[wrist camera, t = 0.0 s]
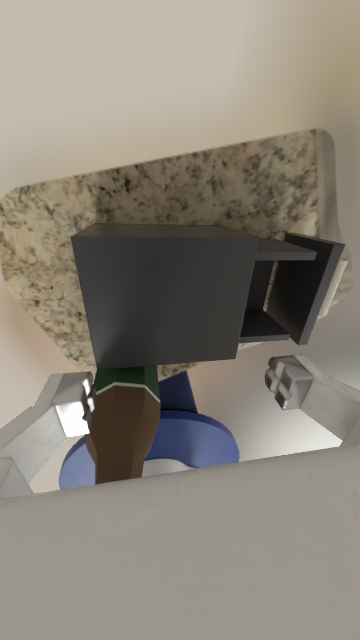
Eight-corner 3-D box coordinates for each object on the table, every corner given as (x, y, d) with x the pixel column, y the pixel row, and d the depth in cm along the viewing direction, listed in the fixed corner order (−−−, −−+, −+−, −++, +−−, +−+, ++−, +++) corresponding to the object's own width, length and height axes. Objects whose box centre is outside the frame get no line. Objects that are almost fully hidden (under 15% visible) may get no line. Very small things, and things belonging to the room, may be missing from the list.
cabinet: (221, 225, 26) (259, 238, 18) (211, 317, 32) (235, 359, 24) (94, 223, 24) (70, 236, 16) (109, 322, 30) (97, 370, 22)
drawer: (324, 233, 28) (383, 244, 21) (298, 312, 33) (338, 342, 26) (187, 231, 25) (205, 243, 18) (183, 318, 31) (196, 352, 24)
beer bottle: (136, 375, 35) (130, 625, 15) (91, 355, 32) (3, 639, 12) (165, 342, 33) (205, 583, 12) (120, 317, 30) (73, 585, 9)
